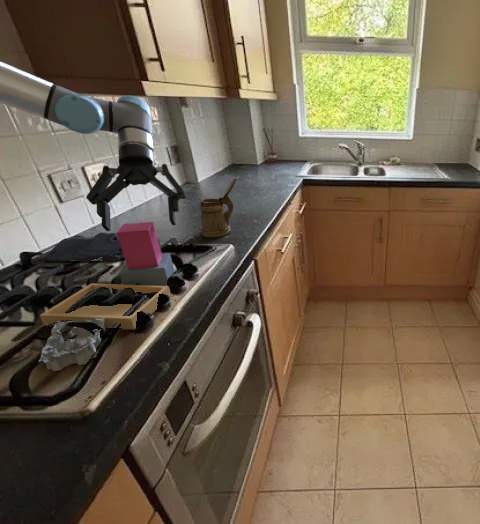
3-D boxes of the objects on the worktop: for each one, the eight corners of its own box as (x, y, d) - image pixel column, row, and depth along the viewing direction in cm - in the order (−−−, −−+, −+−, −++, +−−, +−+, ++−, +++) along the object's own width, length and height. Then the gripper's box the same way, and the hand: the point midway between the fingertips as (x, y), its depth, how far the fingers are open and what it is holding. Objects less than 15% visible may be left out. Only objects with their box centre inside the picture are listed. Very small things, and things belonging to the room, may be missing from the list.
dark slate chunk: (77, 241, 102) (72, 227, 100) (153, 241, 104) (149, 226, 102) (37, 263, 88) (30, 246, 86) (126, 261, 90) (121, 245, 88)
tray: (44, 326, 64) (39, 315, 63) (95, 293, 76) (91, 283, 74) (134, 329, 64) (130, 318, 63) (171, 295, 75) (168, 286, 74)
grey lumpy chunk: (65, 336, 62) (57, 318, 60) (113, 328, 64) (107, 310, 63) (38, 376, 53) (27, 356, 51) (95, 364, 55) (87, 345, 54)
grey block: (125, 292, 76) (118, 273, 74) (134, 275, 84) (128, 257, 82) (169, 286, 79) (164, 267, 77) (174, 270, 87) (169, 252, 85)
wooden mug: (244, 234, 112) (237, 180, 104) (200, 238, 107) (189, 182, 99) (244, 226, 119) (236, 175, 111) (202, 229, 115) (192, 177, 107)
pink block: (128, 269, 76) (116, 232, 72) (134, 259, 81) (123, 224, 77) (158, 265, 78) (148, 229, 74) (162, 255, 83) (153, 221, 79)
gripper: (193, 159, 93) (200, 227, 87) (84, 162, 84) (84, 237, 78) (187, 141, 86) (195, 213, 80) (68, 142, 77) (67, 223, 71)
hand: (140, 225), depth 79 cm, fingers open, 13 cm apart
